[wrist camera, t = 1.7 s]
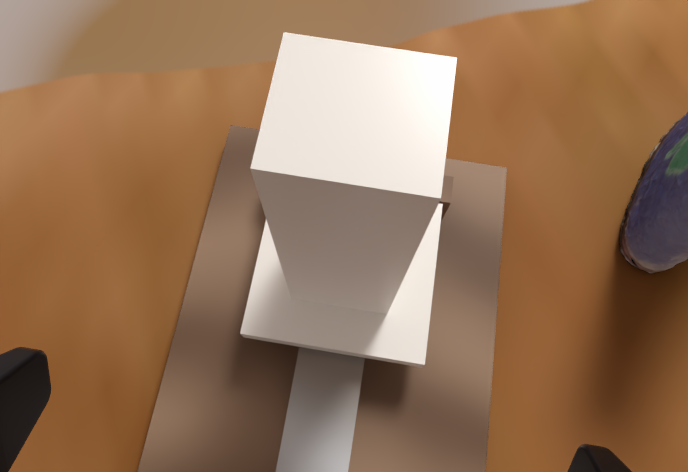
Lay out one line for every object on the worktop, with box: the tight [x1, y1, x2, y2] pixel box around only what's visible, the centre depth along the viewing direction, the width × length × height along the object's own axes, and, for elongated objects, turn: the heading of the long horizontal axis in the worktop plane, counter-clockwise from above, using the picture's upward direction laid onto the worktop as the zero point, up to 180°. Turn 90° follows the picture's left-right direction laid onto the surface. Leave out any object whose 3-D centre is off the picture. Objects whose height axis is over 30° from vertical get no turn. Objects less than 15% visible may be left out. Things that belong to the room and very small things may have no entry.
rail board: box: [137, 125, 507, 472], centre depth 20 cm, size 20×12×3 cm, turn 170°
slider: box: [240, 32, 457, 367], centre depth 15 cm, size 6×6×11 cm
